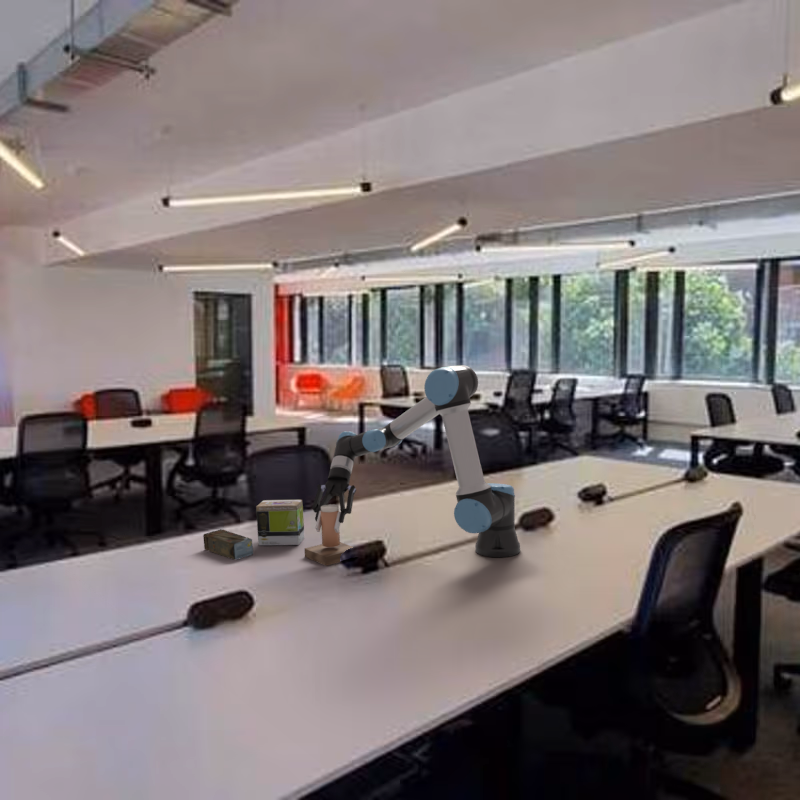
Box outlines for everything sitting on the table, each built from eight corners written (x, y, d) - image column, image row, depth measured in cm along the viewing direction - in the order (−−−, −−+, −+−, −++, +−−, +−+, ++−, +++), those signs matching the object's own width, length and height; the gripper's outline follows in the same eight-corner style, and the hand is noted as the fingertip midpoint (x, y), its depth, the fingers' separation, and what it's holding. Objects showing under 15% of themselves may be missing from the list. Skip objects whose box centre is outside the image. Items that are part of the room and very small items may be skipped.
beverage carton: (234, 561, 263) (233, 541, 262) (202, 550, 276) (201, 532, 275) (254, 555, 268) (253, 536, 268) (222, 545, 281) (221, 527, 281)
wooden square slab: (358, 557, 262) (358, 548, 262) (326, 565, 254) (325, 556, 254) (336, 549, 272) (336, 540, 272) (304, 556, 264) (304, 548, 264)
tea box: (304, 538, 287) (303, 498, 286) (298, 546, 277) (297, 505, 276) (265, 538, 289) (263, 498, 287) (257, 546, 279) (255, 505, 277)
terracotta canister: (343, 544, 262) (342, 506, 261) (328, 548, 258) (327, 509, 257) (333, 540, 267) (332, 503, 265) (318, 544, 263) (317, 506, 262)
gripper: (368, 478, 273) (356, 537, 259) (318, 477, 278) (303, 534, 264) (364, 466, 267) (351, 525, 253) (312, 465, 272) (296, 523, 258)
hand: (326, 530), depth 258 cm, fingers closed on terracotta canister, 6 cm apart
